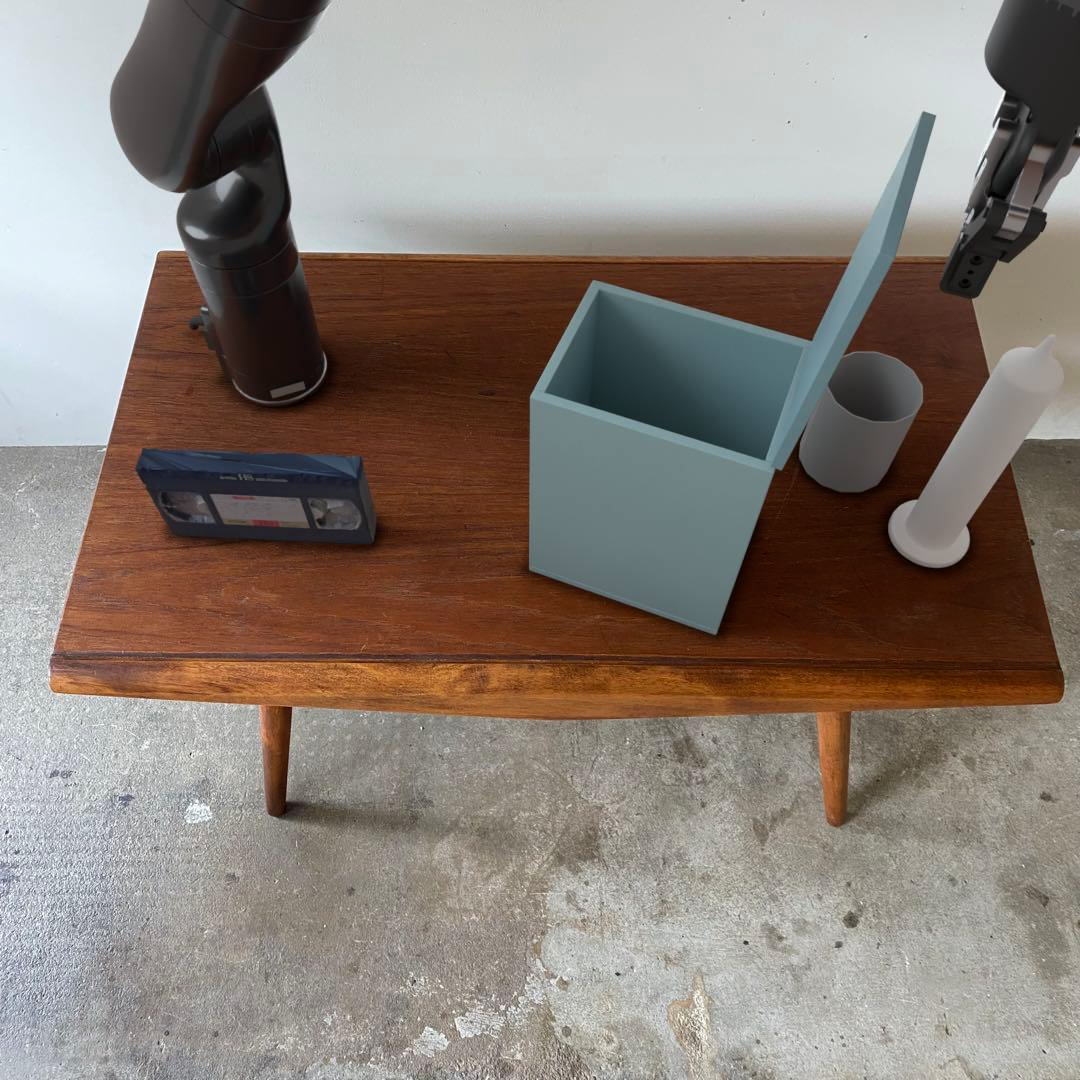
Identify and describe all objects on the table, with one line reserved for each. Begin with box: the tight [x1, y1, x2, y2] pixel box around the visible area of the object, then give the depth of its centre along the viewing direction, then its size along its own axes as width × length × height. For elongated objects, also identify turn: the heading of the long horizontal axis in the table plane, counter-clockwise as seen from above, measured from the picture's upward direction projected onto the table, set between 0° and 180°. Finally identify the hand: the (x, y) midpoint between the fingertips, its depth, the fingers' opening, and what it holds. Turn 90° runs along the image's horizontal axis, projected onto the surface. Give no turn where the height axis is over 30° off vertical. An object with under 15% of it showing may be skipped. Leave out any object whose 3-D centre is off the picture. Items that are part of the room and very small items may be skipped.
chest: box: [528, 279, 813, 636], centre depth 77 cm, size 17×13×23 cm
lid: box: [770, 110, 937, 471], centre depth 57 cm, size 18×13×1 cm
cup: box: [798, 351, 924, 493], centre depth 88 cm, size 8×8×10 cm
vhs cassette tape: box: [134, 447, 378, 545], centre depth 82 cm, size 18×3×10 cm, turn 86°
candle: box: [887, 333, 1065, 569], centre depth 77 cm, size 7×7×25 cm
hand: (958, 287), depth 54 cm, fingers closed
